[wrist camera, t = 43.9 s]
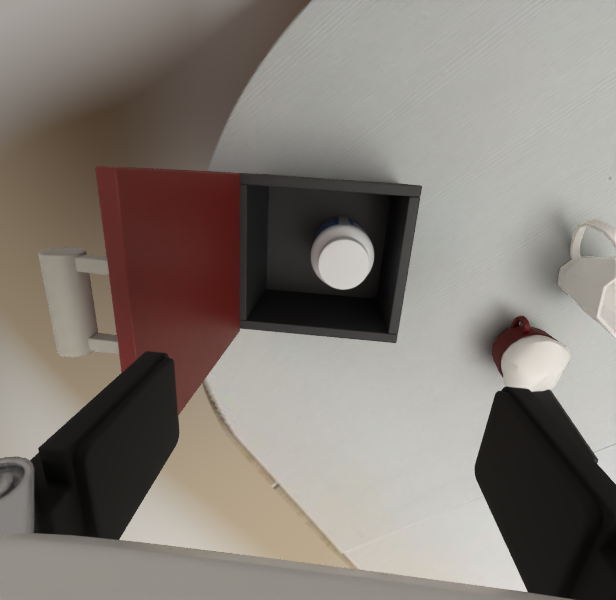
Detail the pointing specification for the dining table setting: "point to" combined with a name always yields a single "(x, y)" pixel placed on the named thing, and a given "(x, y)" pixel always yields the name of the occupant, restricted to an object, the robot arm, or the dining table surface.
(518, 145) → the dining table surface
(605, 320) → the cup
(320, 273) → the pill bottle
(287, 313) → the dark open-top bin
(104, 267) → the bin lid
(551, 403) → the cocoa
